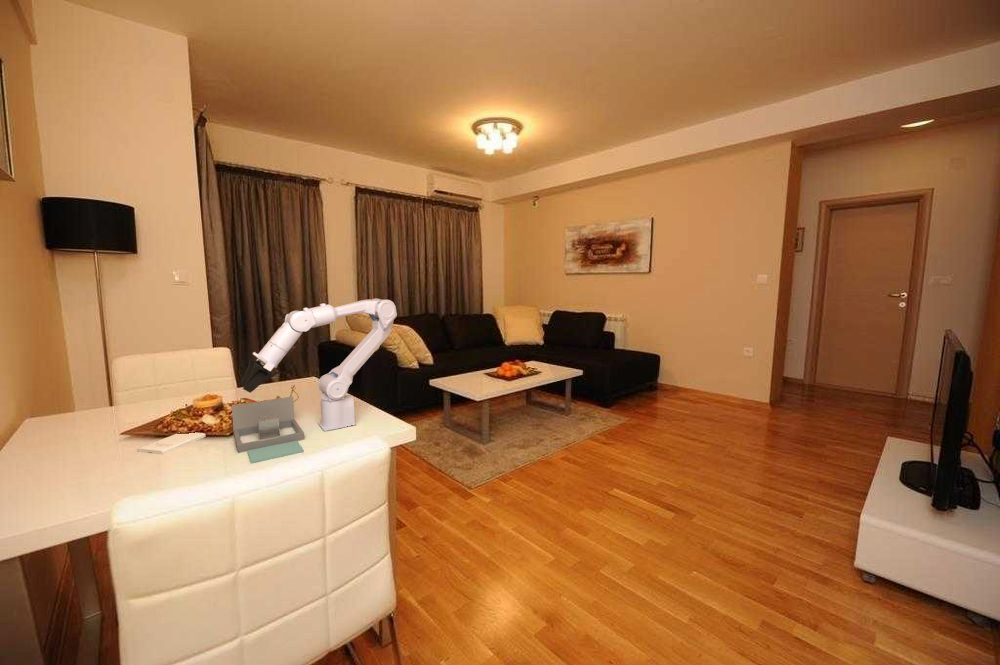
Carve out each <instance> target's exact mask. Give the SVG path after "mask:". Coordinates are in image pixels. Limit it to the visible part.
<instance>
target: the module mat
mask: <svg viewBox="0 0 1000 665" xmlns="http://www.w3.org/2000/svg"><path fill="white" fill-rule="evenodd" d="M246 452H247V455H248V458H249V462H250V464H254V463H260V462H264V461H268V460H273V459H278V458H283V457H286V456H291V455H296V454H300V453H304V449H303V447H302V445H301V444H300V442H299V441H292V442H287V443H283V444H278V445H273V446H268V447H263V448H258V449H253V450H248V451H246Z"/></svg>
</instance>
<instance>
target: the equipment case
mask: <svg viewBox="0 0 1000 665" xmlns="http://www.w3.org/2000/svg"><path fill="white" fill-rule="evenodd" d="M256 401H257V400H256ZM294 401H295V400H294V396H293V395H292V396H291V397H290V396H286V397H281V398H280V397H279V398H278V399H276V398H273V399H266V400H265V399H264V400H258V401H257V402H250V403H248V402H244V403H238V404H232V405H231V415H232V429H233V437H234V438H233V439H234V441H235V446H236V449H237V452H238V454H239V453H245V452H247V451H248V450H253V449H258V448H263V447H268V446H273V445H278V444H283V443H287V442H292V441H298V442H299V441H305V432H304V430H303V429H302V427H301V426H300V425H299V423H298V422H297V420H296V419H295V402H294ZM276 414H277V416H278V418H279V430H281V429H287V428H292V429H293V431H294V432H295V433H290V434H283V435H280V436H278V437H273V438H268V439H263V440H259V439H258V440H253V441H249V442H242V439H241V437H245V436H248V435H249V436H250V435H255V434H258V428H257V418H258V417H264V416H270V415H276Z"/></svg>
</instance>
